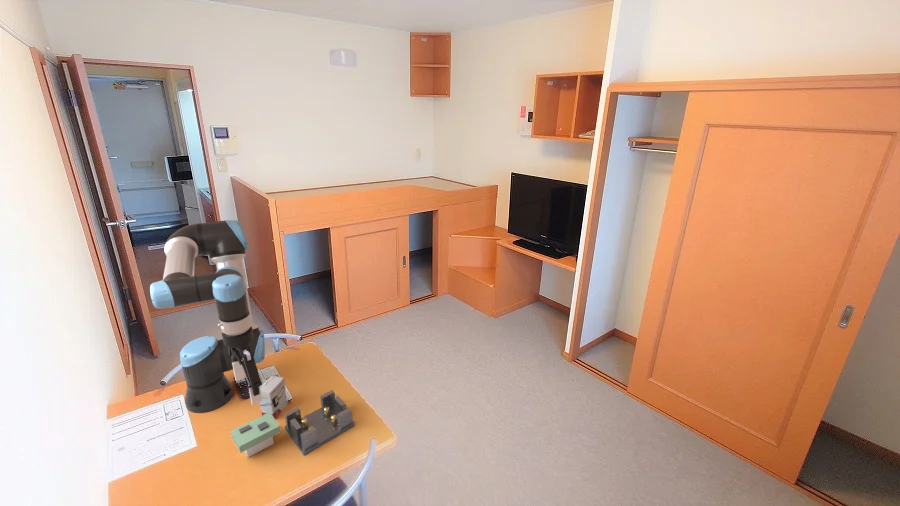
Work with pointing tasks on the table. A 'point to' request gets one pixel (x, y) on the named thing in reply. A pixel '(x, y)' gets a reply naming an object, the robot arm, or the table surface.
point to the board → (255, 432)
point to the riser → (259, 447)
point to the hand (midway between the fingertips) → (248, 390)
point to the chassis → (319, 423)
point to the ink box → (273, 396)
